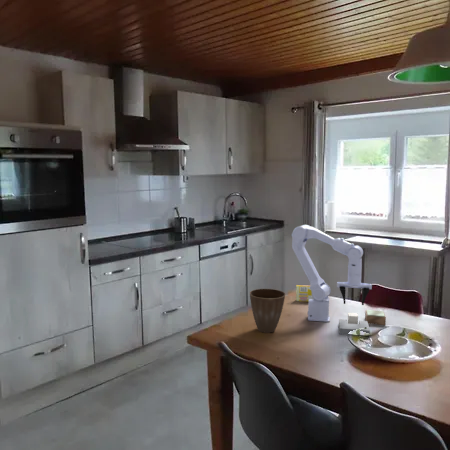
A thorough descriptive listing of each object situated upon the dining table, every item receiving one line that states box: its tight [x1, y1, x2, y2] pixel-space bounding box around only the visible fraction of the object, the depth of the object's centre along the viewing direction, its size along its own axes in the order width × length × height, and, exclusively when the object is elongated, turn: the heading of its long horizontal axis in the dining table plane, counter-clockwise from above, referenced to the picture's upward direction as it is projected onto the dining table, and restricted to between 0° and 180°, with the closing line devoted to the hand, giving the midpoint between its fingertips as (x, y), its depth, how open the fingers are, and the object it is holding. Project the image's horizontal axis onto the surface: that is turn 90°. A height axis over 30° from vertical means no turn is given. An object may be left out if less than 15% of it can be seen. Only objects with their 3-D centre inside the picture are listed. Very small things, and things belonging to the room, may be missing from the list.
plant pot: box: [249, 288, 286, 334], centre depth 190 cm, size 15×15×16 cm
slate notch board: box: [338, 318, 371, 336], centre depth 191 cm, size 12×12×2 cm
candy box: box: [295, 284, 313, 302], centre depth 233 cm, size 16×2×8 cm, turn 84°
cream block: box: [347, 312, 359, 324], centre depth 198 cm, size 4×4×4 cm
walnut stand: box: [364, 309, 387, 326], centre depth 202 cm, size 8×8×4 cm
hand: (353, 303), depth 198 cm, fingers open, 7 cm apart
